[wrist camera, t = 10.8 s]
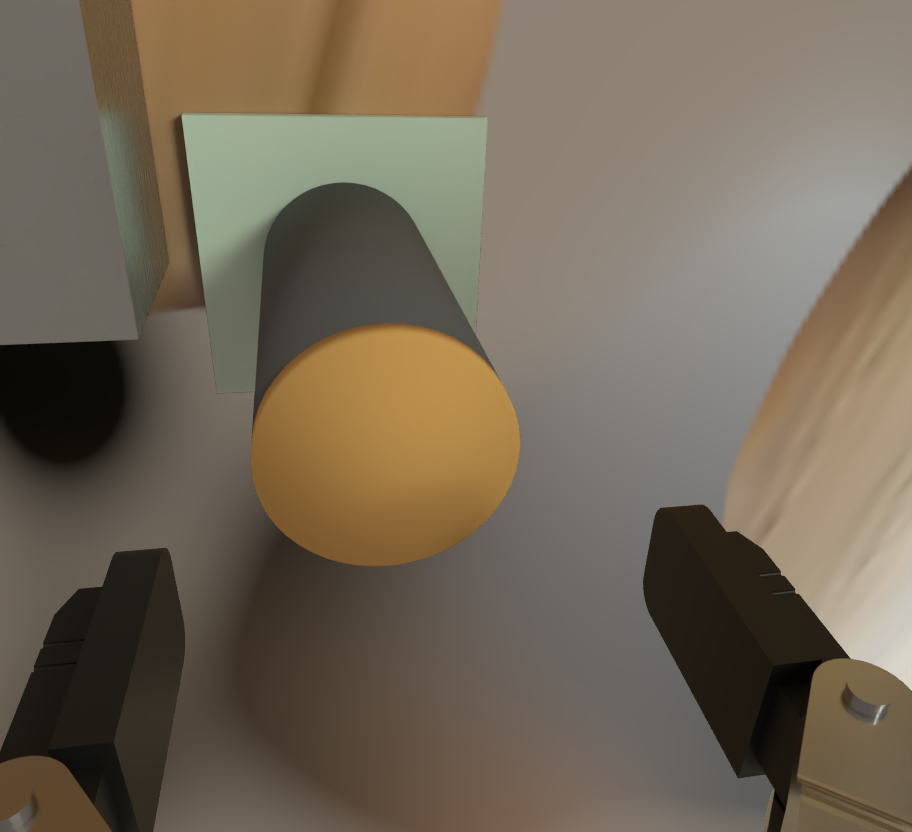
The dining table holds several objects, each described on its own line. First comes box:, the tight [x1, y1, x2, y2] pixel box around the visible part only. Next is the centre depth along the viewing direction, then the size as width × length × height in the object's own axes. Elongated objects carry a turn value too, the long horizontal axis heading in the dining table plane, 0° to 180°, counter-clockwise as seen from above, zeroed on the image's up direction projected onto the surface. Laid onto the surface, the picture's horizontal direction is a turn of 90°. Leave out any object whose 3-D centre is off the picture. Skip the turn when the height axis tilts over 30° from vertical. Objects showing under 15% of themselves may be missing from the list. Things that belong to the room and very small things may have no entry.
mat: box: [182, 113, 488, 394], centre depth 25 cm, size 9×9×1 cm
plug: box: [251, 182, 520, 566], centre depth 20 cm, size 5×5×12 cm
